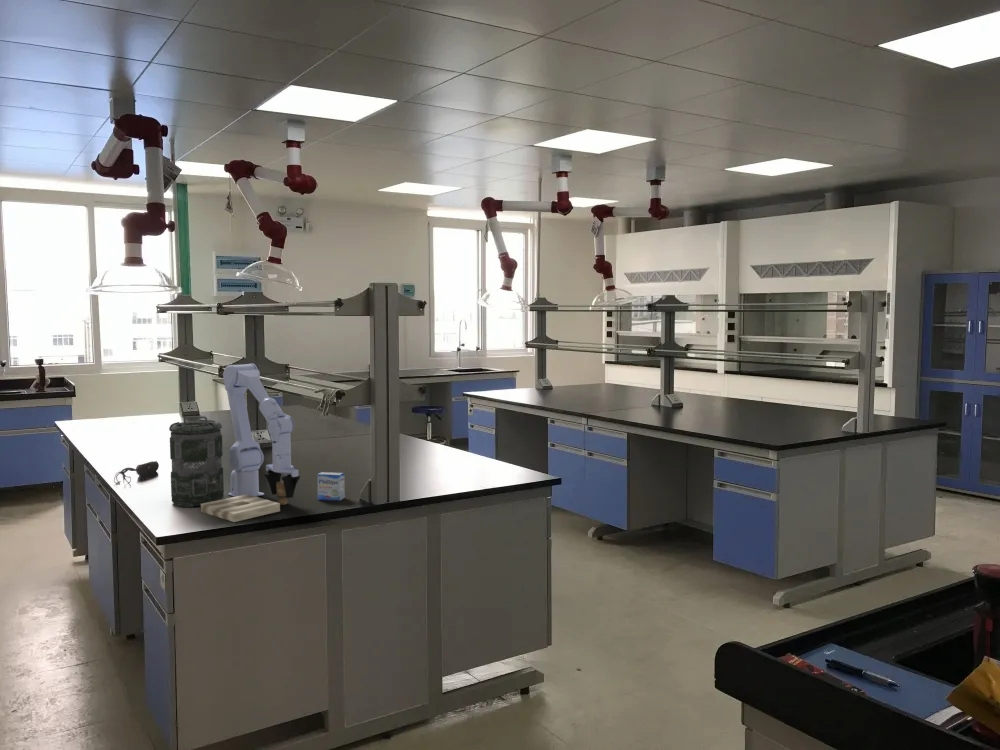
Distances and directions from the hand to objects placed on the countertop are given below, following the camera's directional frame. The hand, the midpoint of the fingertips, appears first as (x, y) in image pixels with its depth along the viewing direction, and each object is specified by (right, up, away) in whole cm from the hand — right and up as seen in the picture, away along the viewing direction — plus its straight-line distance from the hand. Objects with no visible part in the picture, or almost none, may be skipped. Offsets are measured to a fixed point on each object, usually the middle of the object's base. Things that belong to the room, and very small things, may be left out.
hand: (282, 495), depth 250 cm
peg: (0, -3, 0) cm, 3 cm away
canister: (-28, -3, +2) cm, 28 cm away
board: (-10, -3, -9) cm, 14 cm away
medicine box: (+14, -2, +7) cm, 16 cm away
